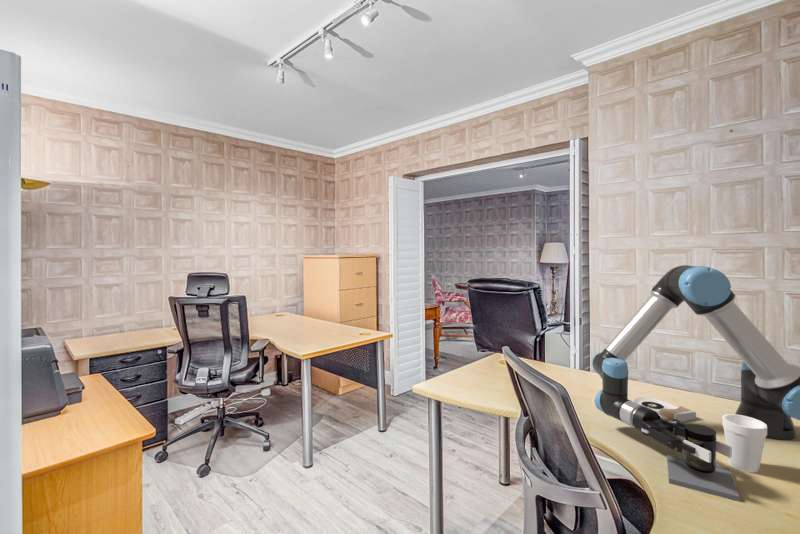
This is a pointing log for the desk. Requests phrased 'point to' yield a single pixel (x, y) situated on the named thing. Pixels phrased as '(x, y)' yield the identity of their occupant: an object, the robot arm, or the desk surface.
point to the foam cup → (744, 441)
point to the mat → (702, 479)
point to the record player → (666, 409)
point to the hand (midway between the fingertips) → (720, 454)
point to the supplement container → (704, 439)
